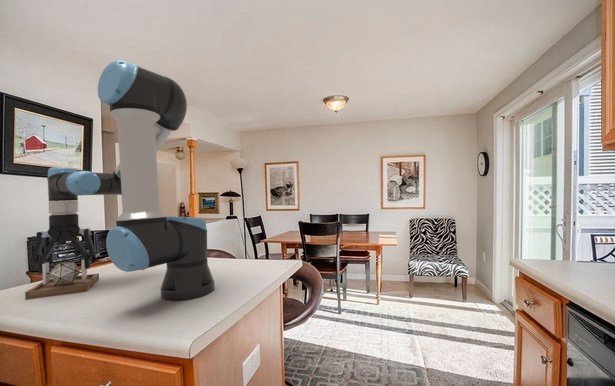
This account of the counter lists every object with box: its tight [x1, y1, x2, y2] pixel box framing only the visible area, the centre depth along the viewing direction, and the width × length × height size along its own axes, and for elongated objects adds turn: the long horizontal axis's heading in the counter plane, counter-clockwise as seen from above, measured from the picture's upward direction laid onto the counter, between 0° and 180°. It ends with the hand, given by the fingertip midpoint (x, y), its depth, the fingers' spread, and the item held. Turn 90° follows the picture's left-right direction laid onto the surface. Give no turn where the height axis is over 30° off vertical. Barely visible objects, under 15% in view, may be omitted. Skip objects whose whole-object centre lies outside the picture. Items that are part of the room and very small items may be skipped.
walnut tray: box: [24, 273, 100, 300], centre depth 96 cm, size 15×15×2 cm
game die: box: [46, 259, 82, 287], centre depth 96 cm, size 9×8×10 cm
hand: (65, 280), depth 96 cm, fingers open, 9 cm apart
